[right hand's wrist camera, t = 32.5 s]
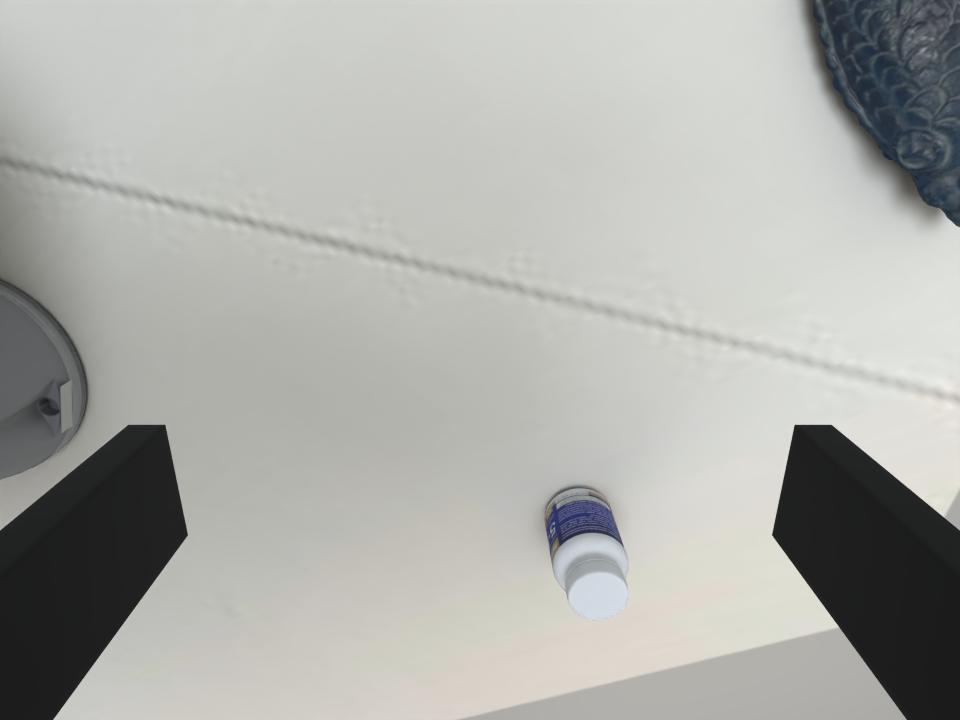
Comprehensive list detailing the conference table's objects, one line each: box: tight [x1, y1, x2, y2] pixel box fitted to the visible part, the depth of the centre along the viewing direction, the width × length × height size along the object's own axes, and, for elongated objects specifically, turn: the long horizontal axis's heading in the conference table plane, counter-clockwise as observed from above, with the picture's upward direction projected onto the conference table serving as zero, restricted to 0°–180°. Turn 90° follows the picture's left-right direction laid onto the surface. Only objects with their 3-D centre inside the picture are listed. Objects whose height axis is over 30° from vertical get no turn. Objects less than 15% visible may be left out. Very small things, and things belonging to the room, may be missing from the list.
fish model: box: [813, 0, 960, 227], centre depth 34 cm, size 7×21×5 cm, turn 34°
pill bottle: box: [545, 488, 629, 620], centre depth 43 cm, size 5×5×9 cm
